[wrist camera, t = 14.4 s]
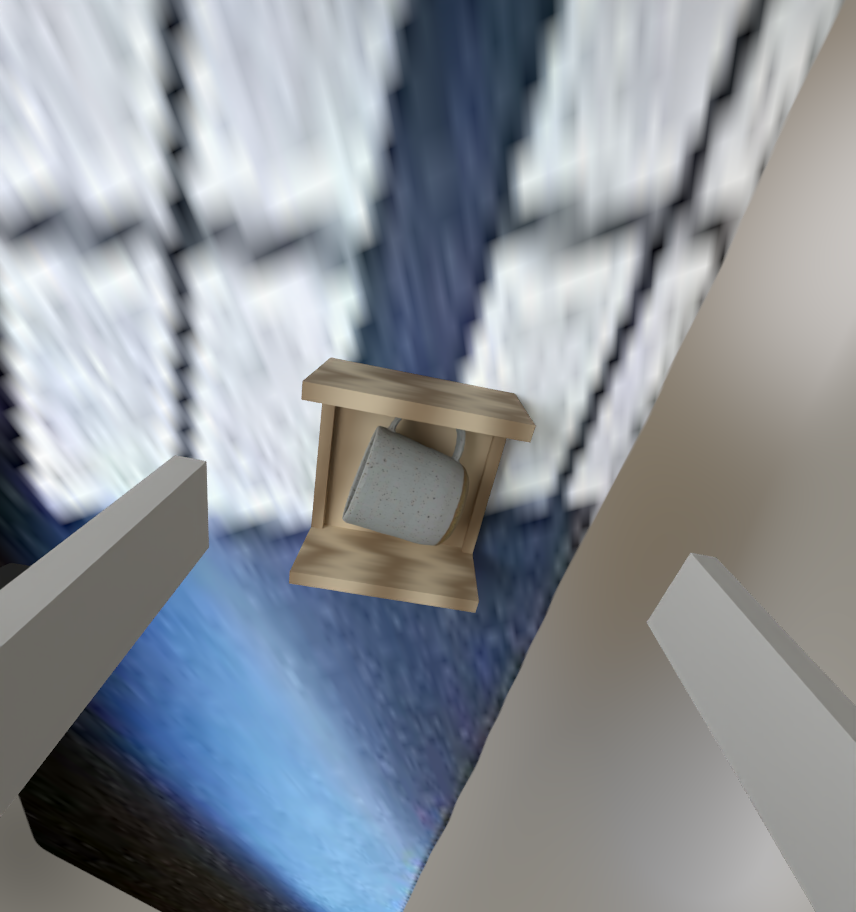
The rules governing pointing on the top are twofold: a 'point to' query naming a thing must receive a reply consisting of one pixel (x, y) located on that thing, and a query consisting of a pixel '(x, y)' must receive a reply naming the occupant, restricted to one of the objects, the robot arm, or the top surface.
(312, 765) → the top surface
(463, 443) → the ceramic mug
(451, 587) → the holder
